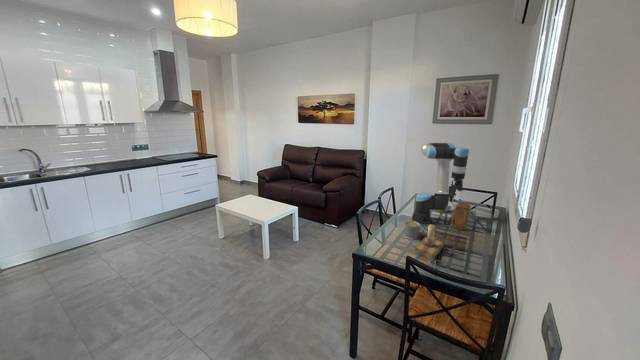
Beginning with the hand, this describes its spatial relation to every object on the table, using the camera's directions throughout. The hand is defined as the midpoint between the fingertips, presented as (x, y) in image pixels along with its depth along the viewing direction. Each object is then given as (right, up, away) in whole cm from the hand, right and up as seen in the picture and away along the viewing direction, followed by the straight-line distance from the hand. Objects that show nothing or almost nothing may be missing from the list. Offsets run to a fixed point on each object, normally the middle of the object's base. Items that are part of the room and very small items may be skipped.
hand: (453, 202), depth 168 cm
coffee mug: (-20, -27, +19) cm, 38 cm away
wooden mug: (+22, -13, +59) cm, 64 cm away
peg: (-16, -32, +2) cm, 36 cm away
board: (-16, -32, +2) cm, 35 cm away
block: (+20, -22, +30) cm, 42 cm away
